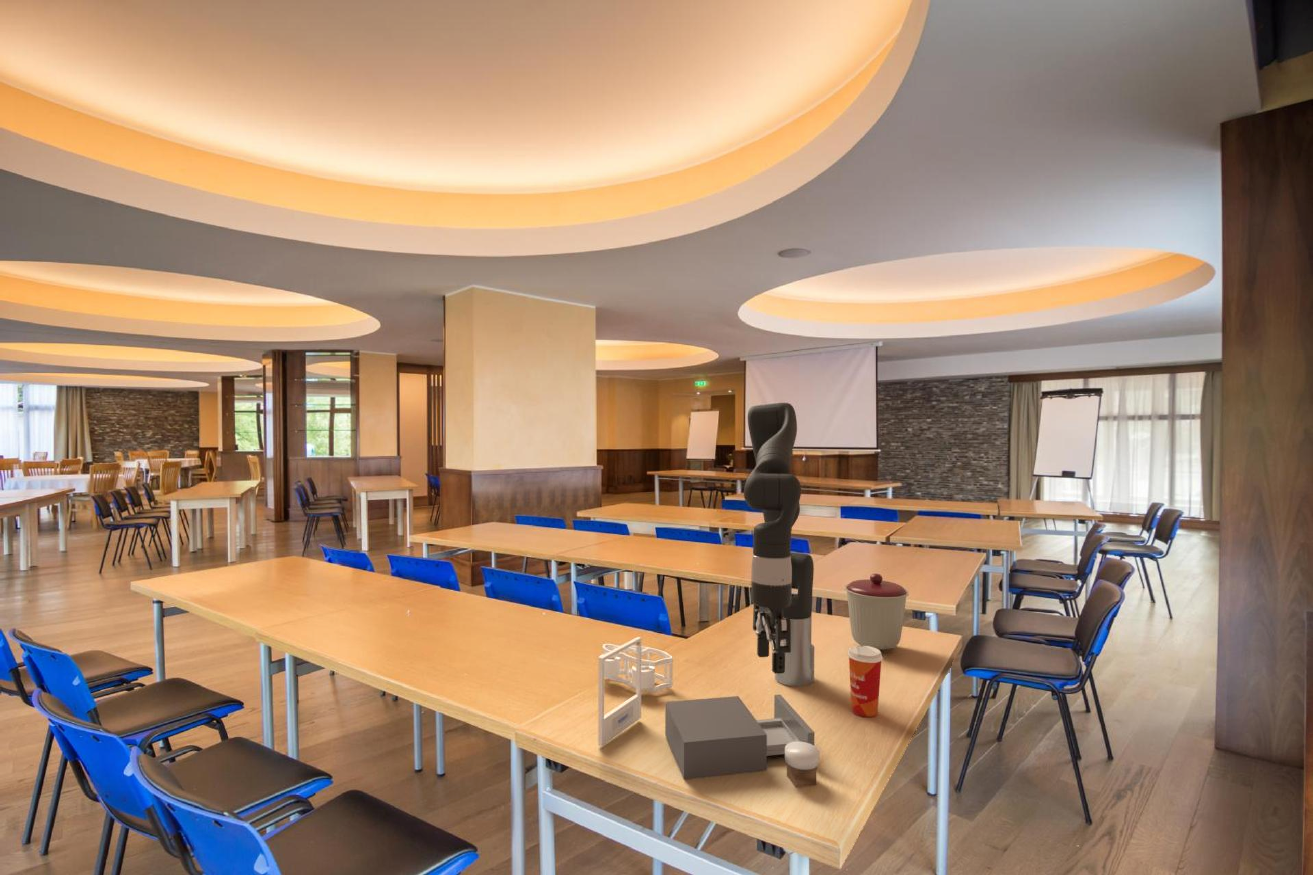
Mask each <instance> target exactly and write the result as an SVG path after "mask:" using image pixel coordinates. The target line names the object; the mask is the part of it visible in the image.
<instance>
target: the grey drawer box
mask: <svg viewBox="0 0 1313 875" xmlns="http://www.w3.org/2000/svg"><path fill="white" fill-rule="evenodd" d="M664 703H665V704H664V705H665V712H664V713H665V714H664V715H665V716H664V718H665V719H664V720H665V726H664V728H665V729H664V730H665V732H664V733H665V734H664V735H665V738H666V740H667V742H668V745H669V747H670V749H671V752H672V754H673V757H674V759H675V762H676V764H677V766H678V769H679V772H680V774H681V777H682V779H683V780H684V781H685V780H693V779H701V778H703V779H705V778H710V777H721V776H729V775H738V774H748V773H756V772H765V771H766V772H767V770H768V768H767V767H768V766H767V760H768V758H767V757H768V756H767V734H766V733H765V732H764V730H763V729H762V727H761V726H760V725H759V723H758V722H757V721H756V720H757V718H755V717H754V715H753V714H752V713H751V711H750V710H749V709H748V708H747V705H746V704H745V703H744V702H743V700H742V699H741V698H740V697H739V695H735V696H725V697H723V696H722V697H711V698H710V697H709V698H700V699H687V700H673V701H665V702H664Z"/></svg>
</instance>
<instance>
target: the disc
mask: <svg viewBox="0 0 1313 875" xmlns="http://www.w3.org/2000/svg"><path fill="white" fill-rule="evenodd" d="M819 754H820V752H819V749H818V747H816V745H815V744H814V745H812V744H809V743H806V742H799V741H797V742H791V743H788V744H787V745H786V746H785V754H784V761H785V763H786V765H787V764H788V765H790V766H792V767H794V768H797V769H802V770H809V769H813V768H815V767H817V768H818V766H819V761H820V760H819V759H820V758H819V757H820V756H819Z"/></svg>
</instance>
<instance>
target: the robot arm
mask: <svg viewBox="0 0 1313 875" xmlns="http://www.w3.org/2000/svg"><path fill="white" fill-rule="evenodd" d="M797 421H798V420H797V414H796V410H795V408H794V406H793V405H792V404H791V403H789V402H777V403H768V404H760V405H758V404H757V405H754V406H753V405H752V406H751V407H750V408H749V410H748V411H747V426H748V432H749V437H750V441H751V446H752V450H753V456H754V460H755V467H754V469H753V470H752V471H751V473H750V474H749V475H748V477H747V479H746V481H745V484H744V488H743V498H744V501H745V503H746V504H747V506H748V507H749V508H751V509H753V510H755V511H762V514H763V515H762V516H763V520H764V522H761V523H758V524H756V525H755V526H754V527H753V532H752V533H753V534H752V538H753V539H752V540H753V541H752V561H751V572H750V573H751V580H750V581H751V582H750V583H751V585H750V589H751V590H750V593H751V594H750V598H751V600H750V601H751V603H752V604H753V613H752V618H753V619H752V630H753V631H754V632H755V636H756V639H757V641H756V648H757V649H756V655H757V657H759V658H768V657H769V656H770V645H771V651H772V656H771V657H772V658H771V671H772V672H773V673H774V679H775V681H776V682H777V683H779V684H781V685H783V686H786V687H787V686H788V687H798V688H799V687H804V686H809V685H810V684H814V683H815V645H813V643H812V621H813V620H812V614H813V610H812V609H813V608H812V607H813V586H814V573H815V566H814V560H813V557H812V556H811V554H808V553H802V552H801V553H800V552H791V551H792V550H791V546H792V530H793V526H794V525H795V523H797V522H796V521H797V520H798V518H799V516H800V514H801V512H800V511H801V507H800V499H801V496H802V485H801V482H800V480H799V478H798V477H796V475H794V474H791V473H792V462H791V461H792V459H791V458H792V452H793V449H794V446H795V443H796V438H797V432H798V422H797ZM792 590H797V594H796V595H794V596H793V595H792Z"/></svg>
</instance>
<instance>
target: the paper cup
mask: <svg viewBox="0 0 1313 875" xmlns="http://www.w3.org/2000/svg"><path fill="white" fill-rule="evenodd" d="M846 656H848V665H849V666H848V667H849V686H850V687H849V688H850V689H849V690H850V703H851V712H853V713H854V714H855V715H858V716H860V717H865V718H872V717H875V716H877V714H878V709H879V697H880V683H881V674H882V672H881V670H882V661H883V659H884V658H883V656H882V652H881V650H879V649H876V648H874V647H870V646H861V645H853V646H851V647H849V650H848V651H847V655H846Z"/></svg>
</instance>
